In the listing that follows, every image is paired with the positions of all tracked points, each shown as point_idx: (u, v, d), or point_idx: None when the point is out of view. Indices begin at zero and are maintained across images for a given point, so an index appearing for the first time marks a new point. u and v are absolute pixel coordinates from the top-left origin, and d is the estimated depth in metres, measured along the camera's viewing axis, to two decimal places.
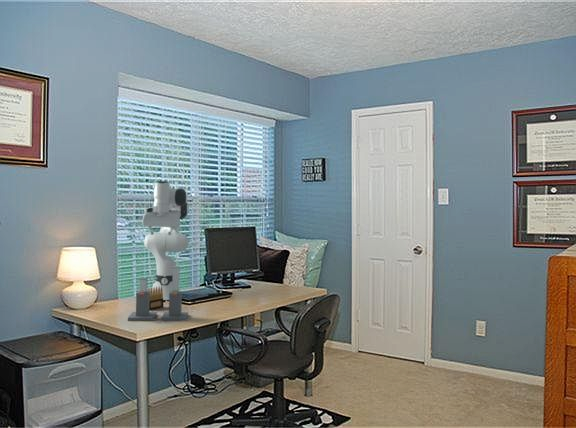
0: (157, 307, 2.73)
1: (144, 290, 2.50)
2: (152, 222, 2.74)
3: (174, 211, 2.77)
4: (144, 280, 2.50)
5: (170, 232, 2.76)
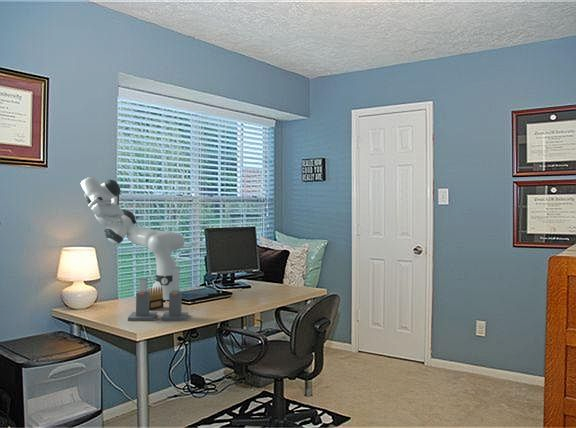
0: (157, 307, 2.73)
1: (144, 290, 2.50)
2: (106, 210, 2.56)
3: (111, 203, 2.69)
4: (144, 280, 2.50)
5: (122, 219, 2.65)
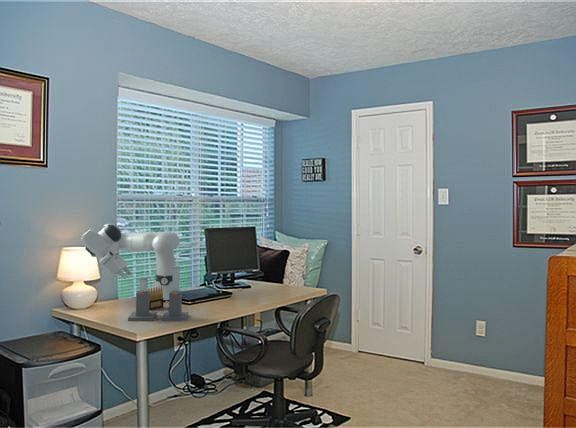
0: (157, 307, 2.73)
1: (144, 290, 2.50)
2: (119, 265, 2.45)
3: None
4: (144, 280, 2.50)
5: (129, 271, 2.55)
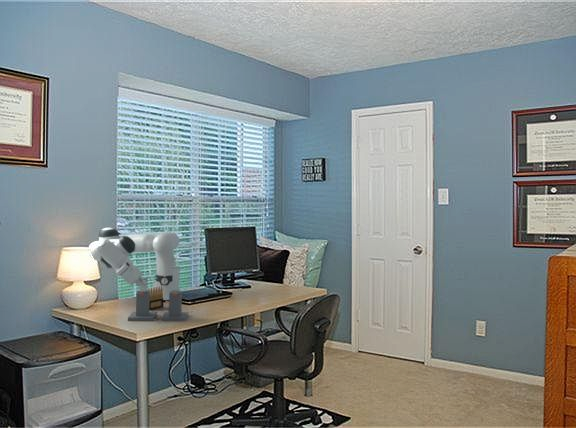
0: (157, 307, 2.73)
1: (144, 290, 2.50)
2: (135, 275, 2.46)
3: None
4: (144, 280, 2.50)
5: None
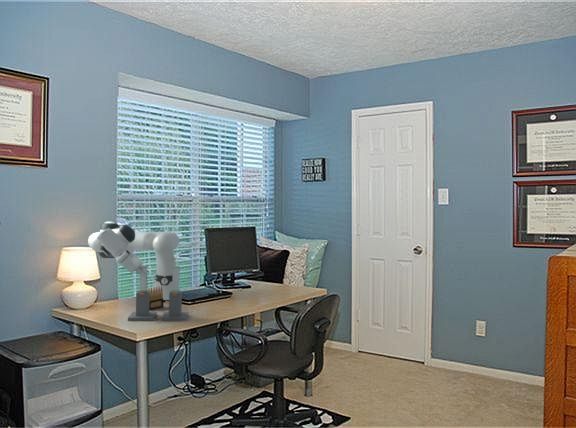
0: (157, 307, 2.73)
1: (144, 278, 2.50)
2: (135, 263, 2.46)
3: None
4: (144, 268, 2.50)
5: None
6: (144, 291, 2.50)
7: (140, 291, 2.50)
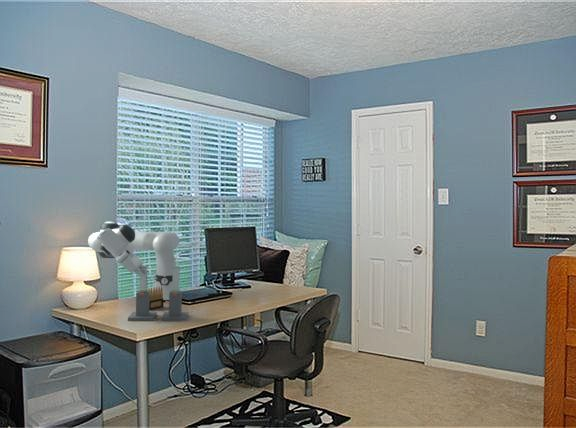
0: (157, 307, 2.73)
1: (144, 278, 2.50)
2: (135, 263, 2.46)
3: None
4: (144, 268, 2.50)
5: None
6: (144, 291, 2.50)
7: (140, 291, 2.50)
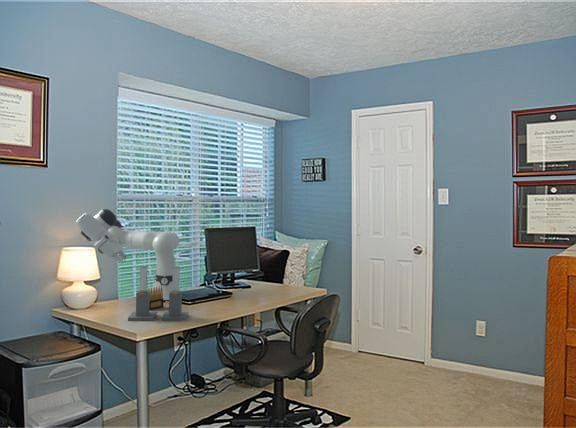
0: (157, 307, 2.73)
1: (144, 278, 2.50)
2: (114, 248, 2.44)
3: None
4: (144, 268, 2.50)
5: (125, 255, 2.54)
6: (144, 291, 2.50)
7: (140, 291, 2.50)
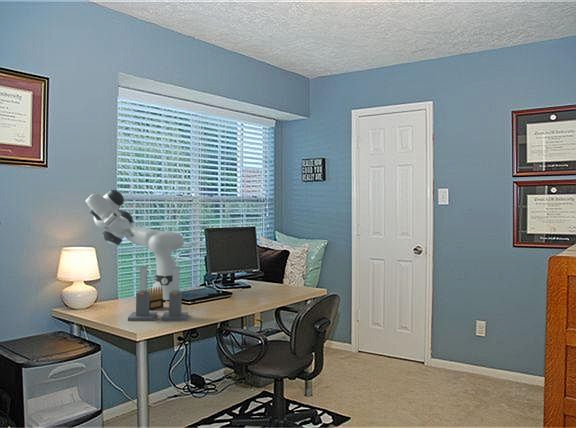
0: (157, 307, 2.73)
1: (144, 278, 2.50)
2: (122, 226, 2.56)
3: None
4: (144, 268, 2.50)
5: (132, 233, 2.67)
6: (144, 291, 2.50)
7: (140, 291, 2.50)
